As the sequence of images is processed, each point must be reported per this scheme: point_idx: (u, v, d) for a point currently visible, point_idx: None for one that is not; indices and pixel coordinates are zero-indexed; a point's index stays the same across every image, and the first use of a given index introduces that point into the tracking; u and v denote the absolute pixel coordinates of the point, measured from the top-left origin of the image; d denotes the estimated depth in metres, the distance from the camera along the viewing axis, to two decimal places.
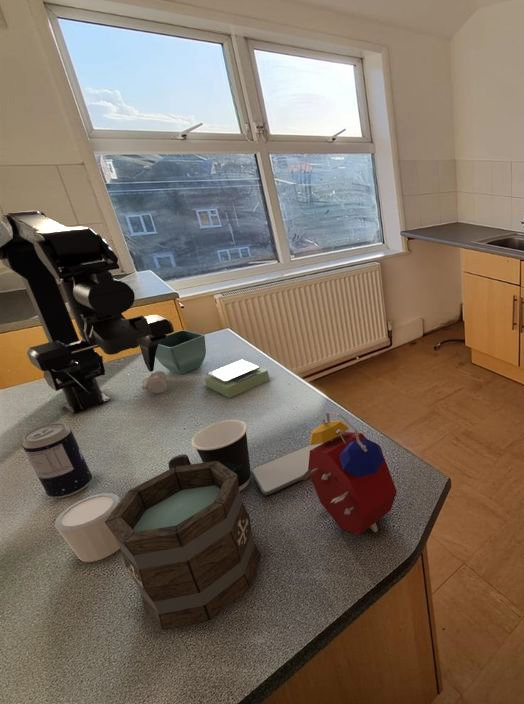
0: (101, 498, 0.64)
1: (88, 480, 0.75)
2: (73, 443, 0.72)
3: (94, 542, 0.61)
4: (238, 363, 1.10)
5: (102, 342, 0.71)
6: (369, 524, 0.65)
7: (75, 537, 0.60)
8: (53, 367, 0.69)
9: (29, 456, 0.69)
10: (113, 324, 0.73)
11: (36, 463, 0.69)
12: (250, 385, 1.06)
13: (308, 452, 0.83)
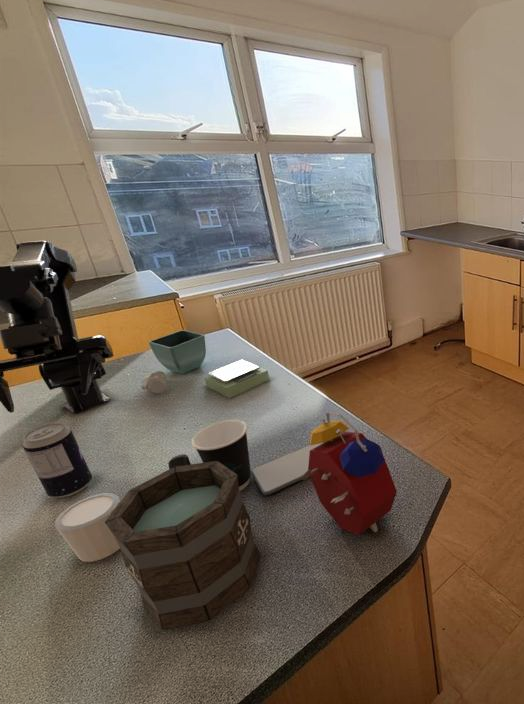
0: (101, 498, 0.64)
1: (88, 480, 0.75)
2: (73, 443, 0.72)
3: (94, 542, 0.61)
4: (238, 363, 1.10)
5: None
6: (369, 524, 0.65)
7: (75, 537, 0.60)
8: None
9: (29, 456, 0.69)
10: None
11: (36, 463, 0.69)
12: (250, 385, 1.06)
13: (308, 452, 0.83)
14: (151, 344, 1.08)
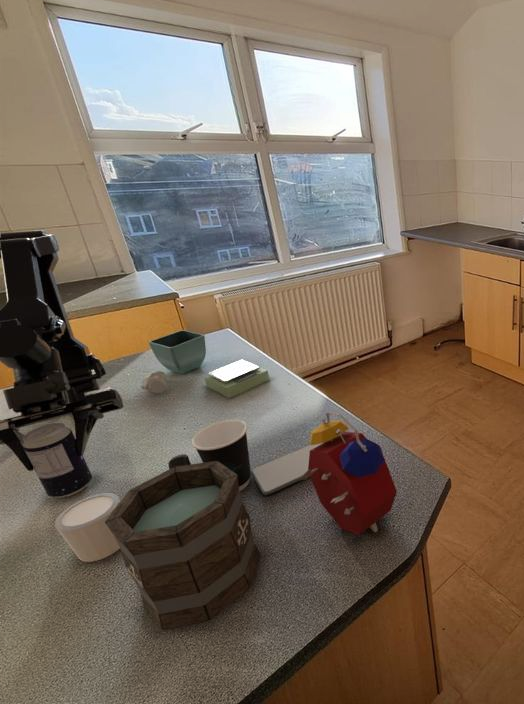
0: (101, 498, 0.64)
1: (88, 480, 0.75)
2: (73, 443, 0.72)
3: (94, 542, 0.61)
4: (238, 363, 1.10)
5: (5, 395, 0.67)
6: (369, 524, 0.65)
7: (75, 537, 0.60)
8: None
9: (29, 456, 0.69)
10: None
11: (36, 463, 0.69)
12: (250, 385, 1.06)
13: (308, 452, 0.83)
14: (151, 344, 1.08)
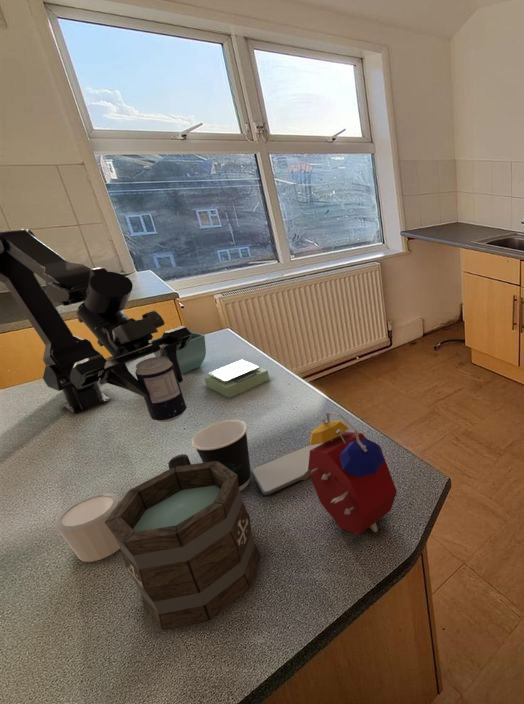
0: (101, 498, 0.64)
1: (185, 405, 0.87)
2: (175, 371, 0.84)
3: (94, 542, 0.61)
4: (238, 363, 1.10)
5: (121, 330, 0.76)
6: (369, 524, 0.65)
7: (75, 537, 0.60)
8: (90, 369, 0.74)
9: (148, 382, 0.79)
10: None
11: (155, 388, 0.80)
12: (250, 385, 1.06)
13: (308, 452, 0.83)
14: None
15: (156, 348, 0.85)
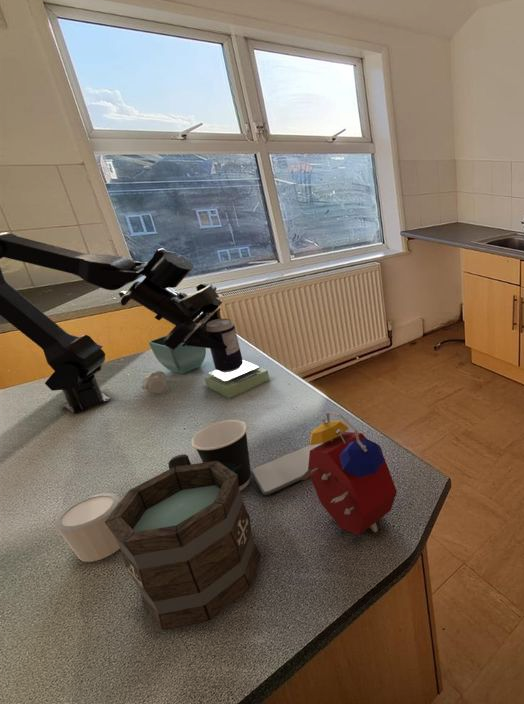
0: (101, 498, 0.64)
1: None
2: None
3: (94, 542, 0.61)
4: None
5: (200, 295, 0.94)
6: (369, 524, 0.65)
7: (75, 537, 0.60)
8: (192, 328, 0.90)
9: (225, 337, 0.98)
10: (191, 294, 0.96)
11: (230, 341, 0.99)
12: (250, 385, 1.06)
13: (308, 452, 0.83)
14: (151, 344, 1.08)
15: (203, 316, 1.00)
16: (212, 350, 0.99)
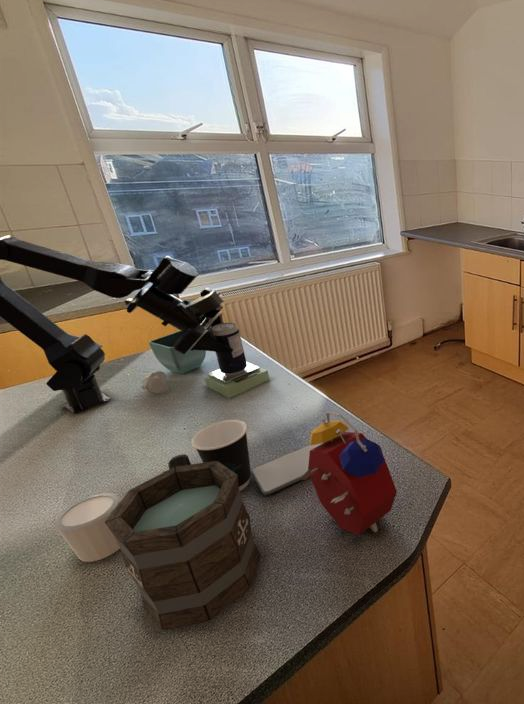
0: (101, 498, 0.64)
1: None
2: None
3: (94, 542, 0.61)
4: None
5: (207, 301, 0.97)
6: (369, 524, 0.65)
7: (75, 537, 0.60)
8: (202, 332, 0.94)
9: (231, 340, 1.02)
10: (197, 300, 0.98)
11: (235, 344, 1.03)
12: (250, 385, 1.06)
13: (308, 452, 0.83)
14: (151, 344, 1.08)
15: (207, 321, 1.03)
16: (218, 353, 1.02)
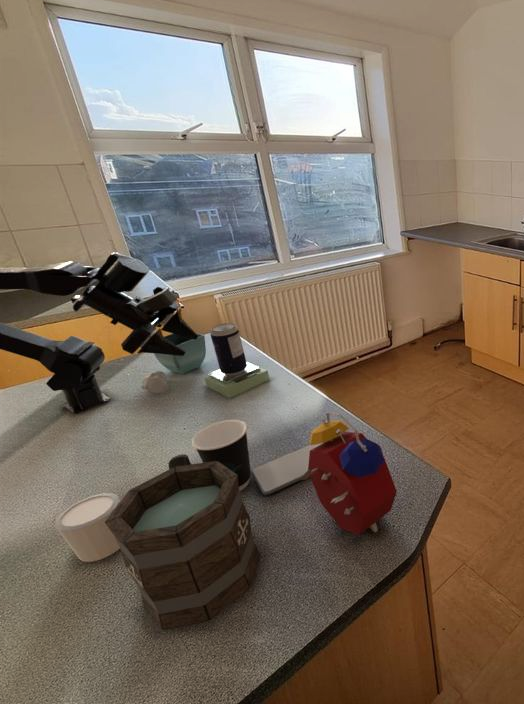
0: (101, 498, 0.64)
1: None
2: None
3: (94, 542, 0.61)
4: None
5: (158, 298, 0.93)
6: (369, 524, 0.65)
7: (75, 537, 0.60)
8: (151, 331, 0.90)
9: (231, 340, 1.02)
10: (148, 298, 0.95)
11: (235, 344, 1.03)
12: (250, 385, 1.06)
13: (308, 452, 0.83)
14: None
15: (164, 317, 1.01)
16: (218, 354, 1.02)
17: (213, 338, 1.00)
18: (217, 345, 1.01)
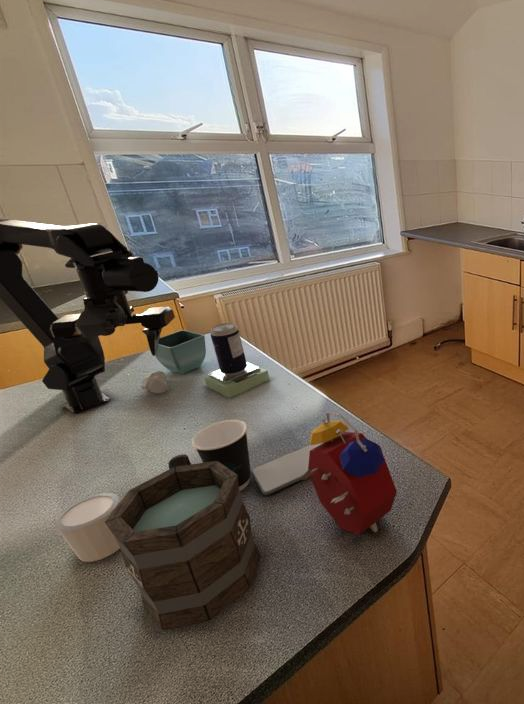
0: (101, 498, 0.64)
1: None
2: None
3: (94, 542, 0.61)
4: None
5: None
6: (369, 524, 0.65)
7: (75, 537, 0.60)
8: (58, 336, 0.84)
9: (231, 340, 1.02)
10: (99, 311, 0.83)
11: (235, 344, 1.03)
12: (250, 385, 1.06)
13: (308, 452, 0.83)
14: None
15: None
16: (218, 354, 1.02)
17: (213, 338, 1.00)
18: (217, 345, 1.01)
